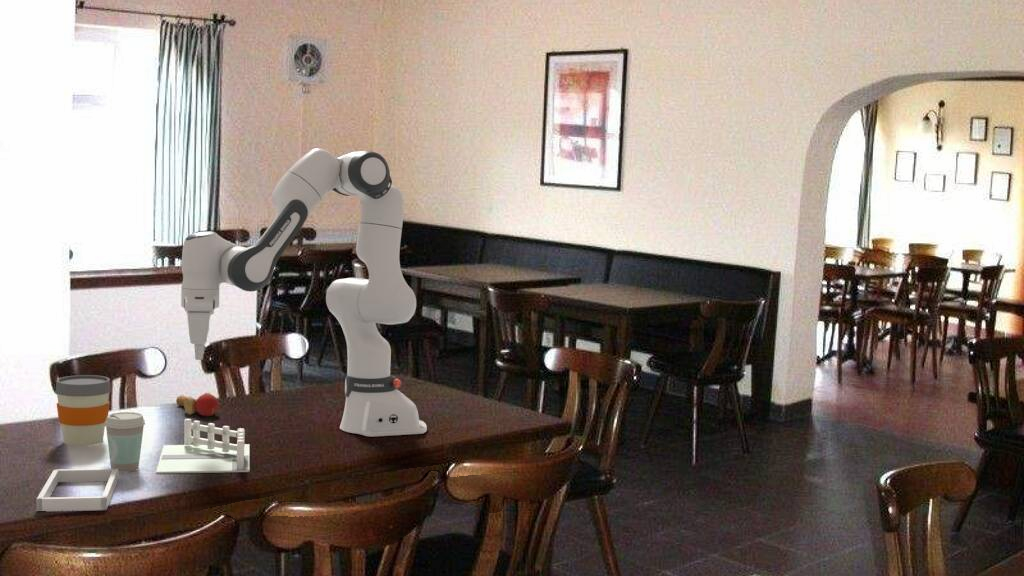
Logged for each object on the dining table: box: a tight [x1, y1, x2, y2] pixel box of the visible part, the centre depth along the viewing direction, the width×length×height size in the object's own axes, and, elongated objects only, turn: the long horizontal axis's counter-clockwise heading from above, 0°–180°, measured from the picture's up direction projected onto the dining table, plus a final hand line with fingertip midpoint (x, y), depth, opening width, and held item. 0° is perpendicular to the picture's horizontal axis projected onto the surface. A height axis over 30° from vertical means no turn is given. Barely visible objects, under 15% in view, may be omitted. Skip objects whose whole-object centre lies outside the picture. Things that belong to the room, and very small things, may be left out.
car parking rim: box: [35, 468, 119, 512], centre depth 249 cm, size 13×22×2 cm, turn 12°
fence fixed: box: [236, 429, 246, 470], centre depth 276 cm, size 11×2×6 cm, turn 12°
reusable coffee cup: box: [55, 374, 112, 447], centre depth 292 cm, size 13×13×15 cm
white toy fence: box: [183, 418, 246, 452], centre depth 286 cm, size 18×2×6 cm, turn 62°
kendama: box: [175, 392, 220, 417], centre depth 329 cm, size 8×6×18 cm
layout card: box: [155, 443, 250, 475], centre depth 281 cm, size 20×24×1 cm
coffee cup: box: [105, 411, 146, 473], centre depth 269 cm, size 8×8×12 cm
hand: (199, 356), depth 293 cm, fingers open, 6 cm apart
